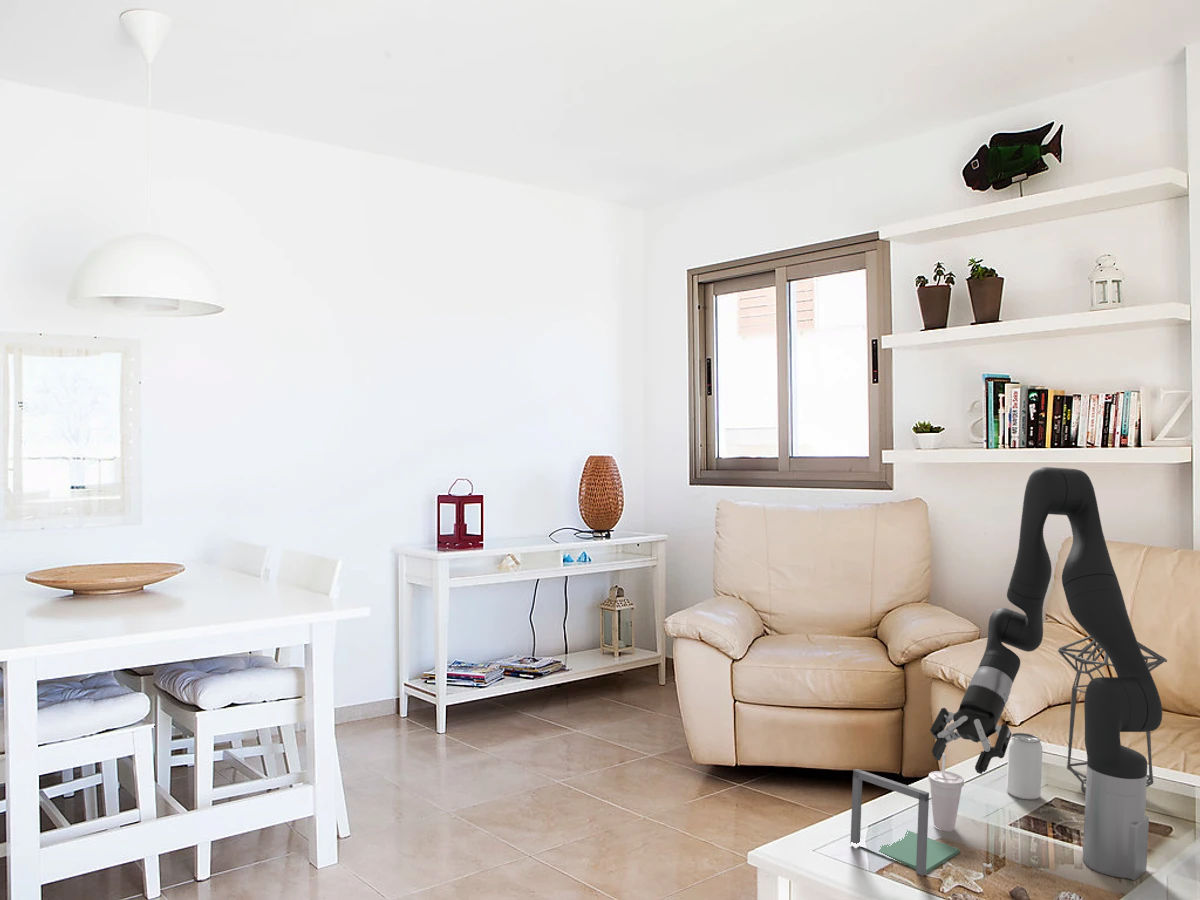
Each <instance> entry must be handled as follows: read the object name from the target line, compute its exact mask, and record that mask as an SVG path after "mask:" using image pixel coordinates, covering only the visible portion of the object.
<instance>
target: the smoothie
mask: <svg viewBox="0 0 1200 900" xmlns="http://www.w3.org/2000/svg"><path fill="white" fill-rule="evenodd" d="M946 755H947V754H946V753H945V752H943V755H942V757H941V759H942V762H941V770H935V771H931V772H929V773H928V779H927V780H928V781H929V786H930V795H931V807H932V820H933V821H932V822H933V826H934V825H935V826H936V827H937V828H939V829H941V830H940V831H942V830H943V831H942V832H953V831H955V828H956V823H957V816H958V810H959V805H960V800H961V794H962V788H963V787H964V786H965V780H964V778H963V776H961V775H959V774H957V773H955V772H951V771H946V757H947V756H946ZM937 828H936V829H937ZM939 829H938V830H939Z"/></svg>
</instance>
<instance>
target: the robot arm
mask: <svg viewBox="0 0 1200 900" xmlns="http://www.w3.org/2000/svg"><path fill="white" fill-rule="evenodd" d="M1023 495H1024V496H1023V502H1022V503H1023V504H1022V510H1021V511H1022V514H1021V521H1020V529H1019V530H1020V531H1019V540H1018V541H1019V542H1018V549H1017V553H1016V559H1015V563H1014V567H1013V571H1012V574H1011V576H1010V581H1009V583H1008V584H1009V585H1008V588H1007V591H1006V598H1007V600H1008V601H1009V602H1010V603H1011V604H1012V605H1014V606H1015V607H1016V608H1019V609H1020V610H1022V611H1023V612H1024V614H1023V613H1020V612H1018V611H1015V610H1013V609H1009V608H1007V607H1006V608H1005V607H998V608H997V609H996V610H994V611H993V612H992V613H991V615H990V616H989V618H988V619H989V620H988V626H987V627H988V628H987V629H988V631H987V638H986V639H987V640H986V647H985V650H984V653H983V655H982V658H981V659H980V660H981V661H980V663H979V665H978V667H977V669H976V670H975V672H974V674H973V675H972V677H971V679H970V682H969V684H968V686H967V687H966V691H965V692H964V695H963V697H962V699H961V701H960V705H959V708H958V710H957V711H956V712H955V713H954V712H952V711H951V712H950V711H948V710H947V709H948V708H946V707H941V708H940V709H939V710H940V711H939V712H938V714H937V717H935V719H934V722H933V724H932V726H931V728H930V733H931V734H932V737H933V738H934V739H935V742H934V745H933V747H932V749H931V753H932V756H933V758H934V759H935V760H936V761H941V759H942V756H943V753H945V750H946V747H947V744H948V743H950V742H952V741H957V740H958V739H960V738H961V739H963V740H966V741H967V740H969V741H972V742H974V743H977V744H978V743H979V742H981V745H982V748H983V750H982V751H981V752H980V755H979V757H978V759H977V761H976V763H975V765H974V769H975V771H976V774H980V775H982V774H983V772H984V773H985V772H986V771H987V770H988V767H989V765H990V762H991V760H992V759H993V758H997V757H998V758H999V759H1003V758H1004V757H1005V754H1006V753H1007V750H1008V745H1009V741H1010V739H1011V735H1012V731H1011V729H1010V727H1009V725H1008V724H1006V723H1005V724H1002V725H999V724H998V723H999V722H1000V719H1001V717H1002V714H1003V712H1004V709H1005V706H1006V704H1007V702H1008V701H1009V697H1010V695H1011V690H1012V687H1013V683H1014V681H1015V679H1016V677H1017V674H1018V672H1019V670H1020V667H1021V659H1020V657H1019V656H1018V654H1016V653H1015V652H1014V651H1012V650H1011V649H1009V648H1008V647H1006V645H1007V646H1011V647H1012V648H1015V649H1018V650H1021V651H1023V652H1027V653H1028V652H1029V653H1030V652H1034V651H1035V650H1037V649H1038V648H1039V647H1040V645H1041V644H1042V642H1043V639H1044V621H1043V620H1044V619H1043V609H1044V608H1043V607H1044V602H1045V598H1046V596H1047V595H1046V594H1047V591H1048V588H1049V584H1050V581H1051V578H1052V563H1051V562H1052V561H1051V557H1050V554H1049V551H1048V548H1047V546H1046V543H1045V539H1044V537H1045V536H1044V528H1045V523H1046V521H1047V518H1048V515H1058V516H1066V517H1067V519H1068V521H1069V524H1070V528H1071V532H1072V544H1071V548H1070V551H1069V552H1068V555H1067V558H1066V560H1065V563H1064V566H1063V569H1062V575H1061V583H1062V587H1063V591H1064V595H1065V598H1066V603H1067V605H1068V606H1067V607H1068V608H1069V611H1070V614H1072V616H1073V618H1074V619H1075V621H1076V622H1077V623H1078V624H1079V626H1080V627H1081V628H1082V629H1083V630H1084V631H1085V632H1086V633H1087V634H1088V635H1089V636H1091V637H1092V638H1091V639H1093V640H1095V641H1096V642H1097V643H1098V644H1099V645H1100V646H1101V647H1102V648H1103V650H1104V651H1103V652H1104V653H1105V652H1106V654H1107V655H1108V657H1109V658H1108V659H1109V660H1110V662H1111V664H1113V666H1114V667H1113V666H1112V667H1113V668H1114V671H1115V674H1116V676H1117V677H1116V676H1115V677H1114V676H1109V677H1108V676H1104V677H1102V676H1101V677H1095V678H1094V677H1093V679H1092V680H1091V679H1090V681H1089V682H1088V684H1087V685H1088V686H1087V687H1085V688H1086V689H1085V693H1084V702H1083V703H1084V705H1083V706H1084V707H1083V709H1084V747H1085V750H1086V758H1087V759H1086V760H1087V761H1086V762H1087V765H1086V775H1085V776H1086V778H1085V779H1086V781H1085V782H1086V784H1085V787H1086V789H1085V791H1086V793H1085V796H1084V797H1085V798H1084V799H1085V802H1084V816H1083V817H1084V818H1083V819H1084V820H1083V821H1084V822H1083V843H1082V844H1083V845H1082V861H1083V863H1084V864H1085V865H1086V866H1087V867H1088V868H1090V869H1092V870H1094V871H1095V872H1098V873H1101V874H1104V875H1108V876H1111V877H1116V878H1124V879H1129V880H1131V881H1136V879H1138V878H1139V877H1140V876H1141V875H1142V874H1144V872H1146V871H1147V863H1148V845H1149V844H1148V843H1149V825H1150V824H1149V823H1150V817H1149V816H1148V815H1147V814H1146V799H1147V787H1146V785H1147V779H1148V778H1147V775H1148V761H1147V758H1146V756H1144V754H1142V753H1141V752H1138V751H1137V750H1135V749H1133V748H1130V747H1127V746H1124V745H1122V743H1121V733H1146V732H1149V731H1150V732H1153V731H1156V730H1157V729H1159V727H1160V725H1162V724H1161V723H1162V720H1163V706H1162V701H1161V697H1160V694H1159V691H1158V689H1157V685H1156V683H1155V681H1154V678H1153V676H1152V673H1151V671H1149V668H1148V666H1147V664H1146V660H1145V659H1144V657H1143V655H1144V654H1143V652H1142V649H1140V648H1139V645H1138V643H1137V642H1138V640H1137V638H1136V634H1135V633H1134V629H1133V626H1132V623H1131V619H1130V617H1129V614H1128V610H1127V607H1126V602H1125V600H1124V595H1123V593H1122V590H1121V586H1120V583H1119V580H1118V576H1117V574H1116V572H1115V569H1114V566H1113V563H1112V559H1111V557H1110V553H1109V549H1108V547H1107V542H1106V539H1105V535H1104V532H1103V527H1102V522H1101V517H1100V512H1099V506H1098V502H1097V496H1096V492H1095V488H1094V486H1093V482H1092V481H1091V478H1090V477H1089V476H1088V474H1087V473H1086V472H1085V471H1083V470H1081V469H1076V468H1066V467H1064V468H1063V467H1050V466H1049V467H1048V466H1047V467H1045V466H1044V467H1038V468H1036V469H1034V470H1033V471H1032V472H1031V474H1030V475H1029V477H1028V479H1027V482H1026V485H1025V490H1024V494H1023ZM1097 643H1096V644H1097ZM1004 644H1005V645H1004ZM1102 648H1101V649H1102ZM1142 654H1143V655H1142ZM951 721H953V722H952V723H951ZM948 724H949V725H948ZM955 730H956V731H955ZM995 733H996V735H997V738H996V742H995V743H994V747H993V746H992V745H991V743H990V740H989V737H991V736H992V735H994V734H995Z"/></svg>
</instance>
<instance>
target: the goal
mask: <svg viewBox="0 0 1200 900" xmlns="http://www.w3.org/2000/svg"><path fill="white" fill-rule="evenodd" d="M863 781H864V782H867V783H868V784H869V783H870V784H873V785H875V786H878V787H880V788H884V789H888V790H891V791H894V792H897V793H899V794H902V795H905V796H908V797H911V798H914V799H917V800H918V806H917V807H918V814H917V833H916V832H913V831H911V830H909V829H906V830H907V832H908V834H907V832H906V834H905V837H904V839H903V838H902V840H901V841H900V839H899V841H897V842H896V843H895V842H894V843H893V844H892V845H891V846H889V845H890V844H889V845H888V844H887V845H884V846H883V845H882V847H881V846H880V847H881V849H880V850H879V852H881V853H883V854H885V855H887V856H889V857H891V858H893V859H895V860H897V861H899V862H901V863H903V864H905V865H904V866H906V865H908V866H909V868H911V869H914V870H915V874H916V875H919V876H921V877H922V876H924V875H926V874H928V873H929V872H931V871H933V869H934V870H935V869H936V868H937V867H939V866H941V865H942V864H944V863H945V862H948V861H949V860H950V859H951V858H953V857H955V856H956V855H958V854H959V853H960V849H959V848H957V847H954V846H951V845H949V844H947V843H943V842H941V841H938V840H935V839H933V838H930V837H928V830H929V810H930V809H929V808H930V807H929V805H930V792H928V791H925V790H923V789H919V788H915V787H913V786H911V785H910V786H909V785H907V784H904V783H901V782H898V781H896V780H895V781H894V780H893V779H888V778H886V777H882V776H880V775H877V774H874V773H870V772H868V771H865V770H862V769H859V768H856V769H853V770H852V790H851V792H852V793H851V794H852V795H851V816H850V817H851V820H850V821H851V822H850V823H851V824H850V843H851V842H853V843H856V844H857V843H859V842H860V838H861V827H862V823H861V822H862V797H863V795H862V794H863ZM908 830H909V831H908ZM906 835H907V836H906ZM887 846H888V847H887ZM901 863H900V864H901ZM903 864H902V865H903ZM908 866H907V867H908Z"/></svg>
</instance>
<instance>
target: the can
mask: <svg viewBox="0 0 1200 900" xmlns="http://www.w3.org/2000/svg"><path fill="white" fill-rule="evenodd" d="M1041 740H1042V739H1041V738H1040V737H1038V735H1037V736H1036V735H1034V734H1030V733H1024V732H1015V733H1011V737H1010V740H1009V743H1008V746H1007V770H1006V791H1007V793H1008V794H1009V795H1010V796H1012V797H1014V798H1017V799H1020V800H1025V801H1034V800H1038V799H1039V798H1041V795H1042V794H1041V793H1042V792H1041V791H1042V790H1041V789H1042V775H1043V774H1042V773H1043V772H1042V771H1043V770H1042V769H1043V768H1042V767H1043V745H1042V743H1041Z"/></svg>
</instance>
